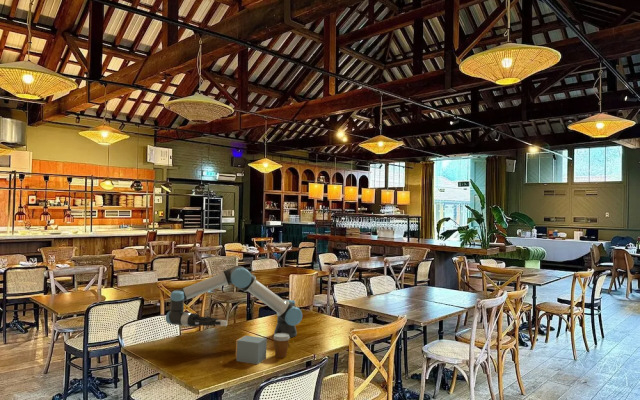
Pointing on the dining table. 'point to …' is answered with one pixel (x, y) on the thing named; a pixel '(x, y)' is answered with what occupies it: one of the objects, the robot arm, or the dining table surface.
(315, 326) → the dining table surface
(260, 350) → the block
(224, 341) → the dining table surface
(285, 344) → the disposable coffee cup
